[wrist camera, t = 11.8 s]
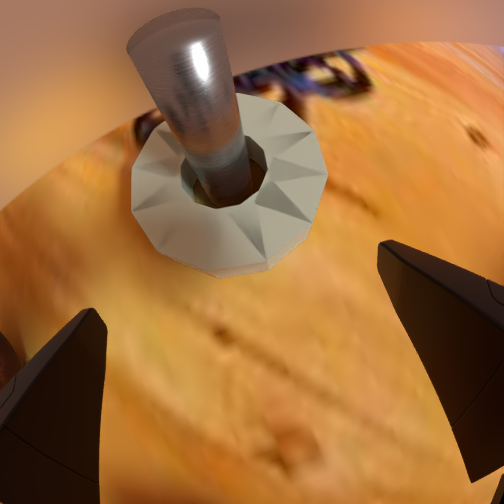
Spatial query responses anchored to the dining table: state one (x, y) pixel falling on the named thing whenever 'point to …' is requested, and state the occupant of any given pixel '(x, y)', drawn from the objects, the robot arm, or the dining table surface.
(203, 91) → the metal peg
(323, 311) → the dining table surface
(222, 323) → the dining table surface
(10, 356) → the wooden sphere
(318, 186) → the grey ring
